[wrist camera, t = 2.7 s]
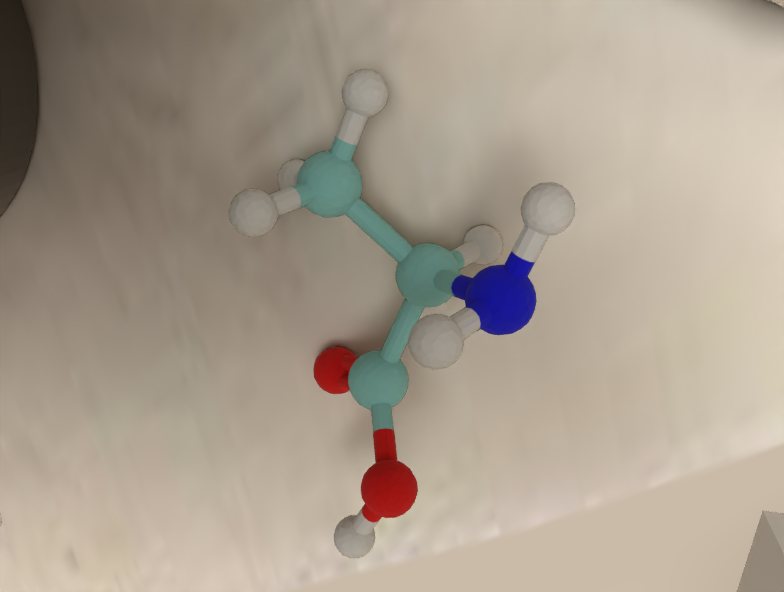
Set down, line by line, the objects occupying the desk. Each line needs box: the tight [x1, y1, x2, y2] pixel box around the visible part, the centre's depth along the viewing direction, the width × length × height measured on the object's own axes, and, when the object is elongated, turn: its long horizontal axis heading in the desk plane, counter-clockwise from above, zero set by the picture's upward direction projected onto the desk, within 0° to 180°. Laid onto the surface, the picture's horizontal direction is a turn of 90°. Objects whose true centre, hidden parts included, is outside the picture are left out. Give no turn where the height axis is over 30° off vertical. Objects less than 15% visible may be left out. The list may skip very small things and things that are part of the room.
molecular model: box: [229, 69, 575, 558], centre depth 21 cm, size 12×10×10 cm
